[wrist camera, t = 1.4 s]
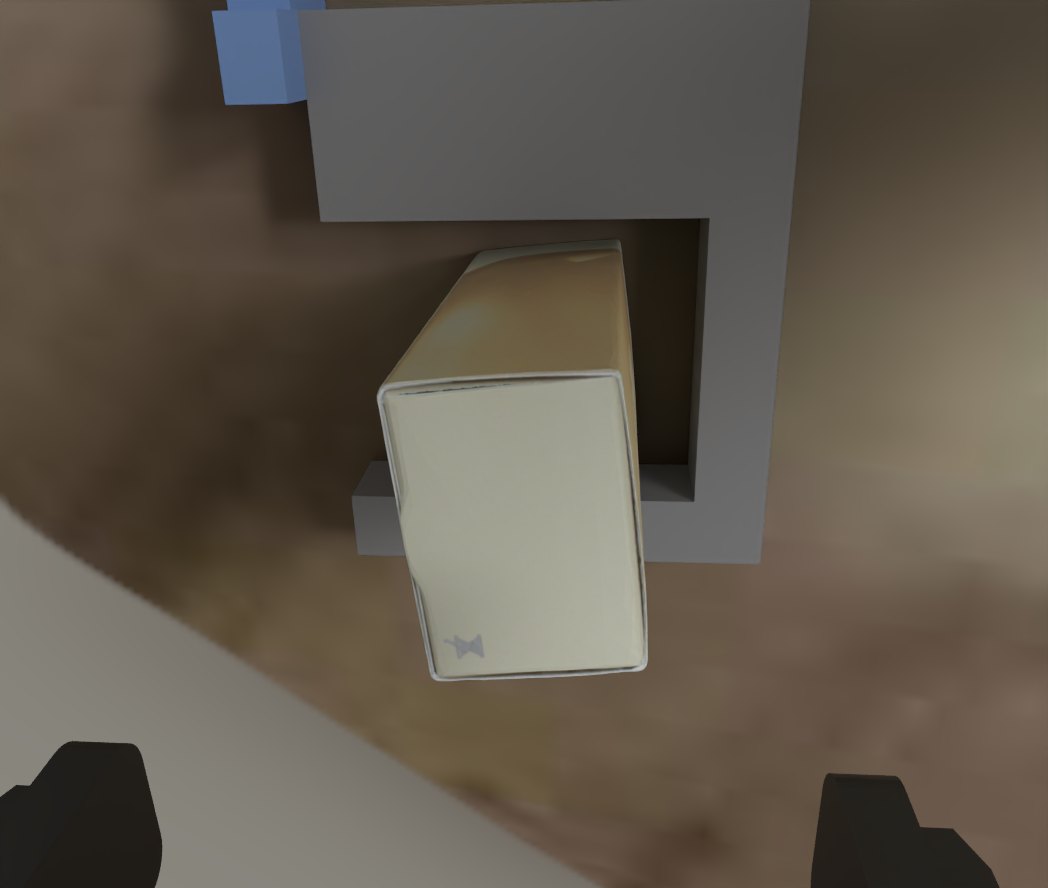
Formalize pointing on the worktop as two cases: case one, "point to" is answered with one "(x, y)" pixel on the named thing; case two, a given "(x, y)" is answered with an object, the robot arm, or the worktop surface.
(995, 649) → the worktop surface
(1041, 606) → the worktop surface
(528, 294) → the skincare box
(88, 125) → the worktop surface
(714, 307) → the rail
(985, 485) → the worktop surface
